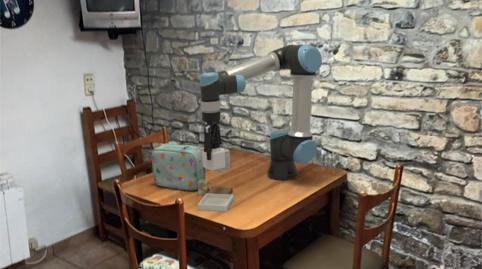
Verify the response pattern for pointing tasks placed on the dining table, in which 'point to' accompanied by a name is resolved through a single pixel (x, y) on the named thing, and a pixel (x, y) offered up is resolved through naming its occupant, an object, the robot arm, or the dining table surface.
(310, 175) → the dining table surface
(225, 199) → the tray
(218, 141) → the medicine bottle
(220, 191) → the board
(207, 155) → the robot arm
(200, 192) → the clear glass cylinder
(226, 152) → the light bulb box
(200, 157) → the lunch box
